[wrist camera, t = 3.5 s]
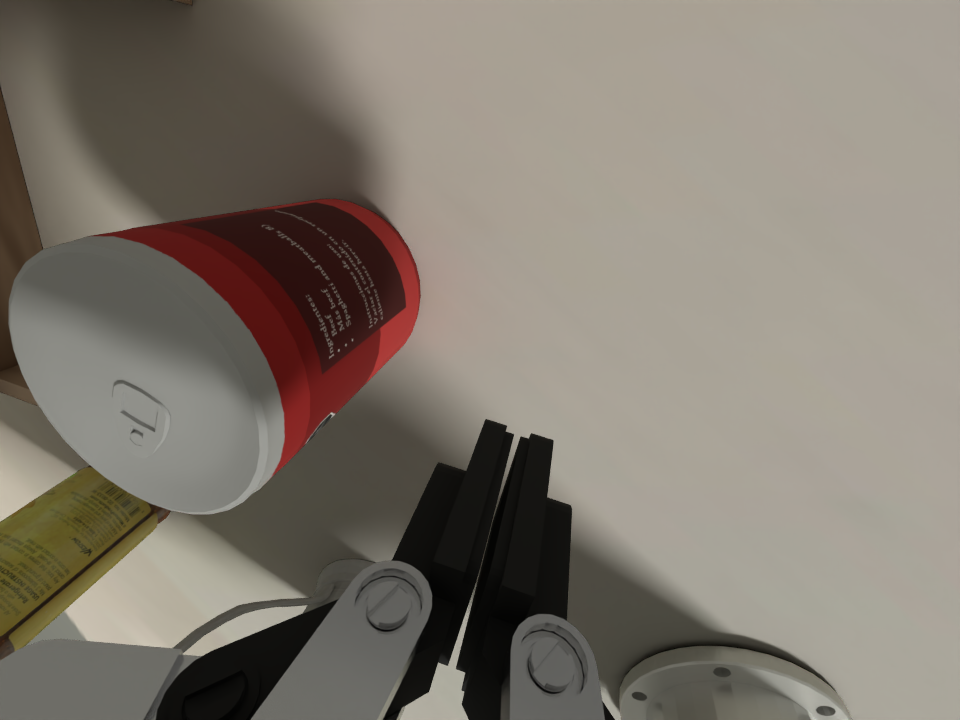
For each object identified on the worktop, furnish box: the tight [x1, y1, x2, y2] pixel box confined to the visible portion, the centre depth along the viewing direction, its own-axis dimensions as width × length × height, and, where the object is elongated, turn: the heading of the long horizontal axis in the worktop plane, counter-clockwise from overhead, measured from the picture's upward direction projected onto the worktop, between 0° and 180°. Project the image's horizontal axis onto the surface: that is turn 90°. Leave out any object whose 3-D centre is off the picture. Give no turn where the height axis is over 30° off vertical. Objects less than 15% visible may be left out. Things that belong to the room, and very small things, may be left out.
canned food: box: [8, 199, 421, 514], centre depth 16 cm, size 8×8×11 cm
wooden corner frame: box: [0, 0, 192, 406], centre depth 20 cm, size 12×21×4 cm, turn 168°
